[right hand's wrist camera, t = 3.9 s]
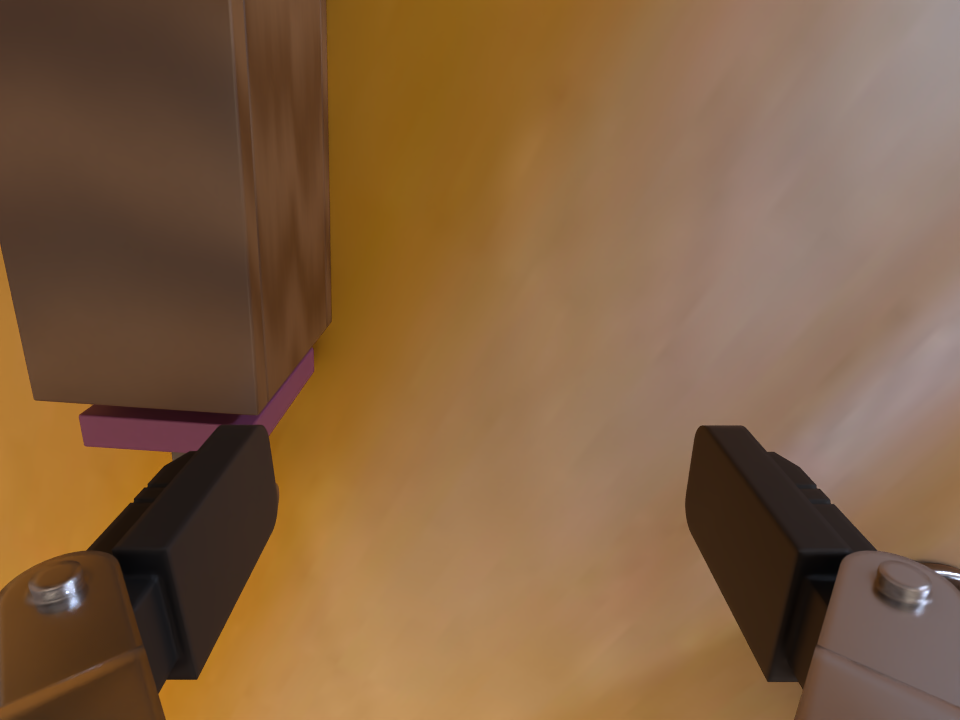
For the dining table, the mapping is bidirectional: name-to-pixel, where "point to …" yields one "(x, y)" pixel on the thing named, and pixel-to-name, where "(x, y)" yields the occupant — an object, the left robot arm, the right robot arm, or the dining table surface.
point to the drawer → (182, 421)
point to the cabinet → (165, 197)
